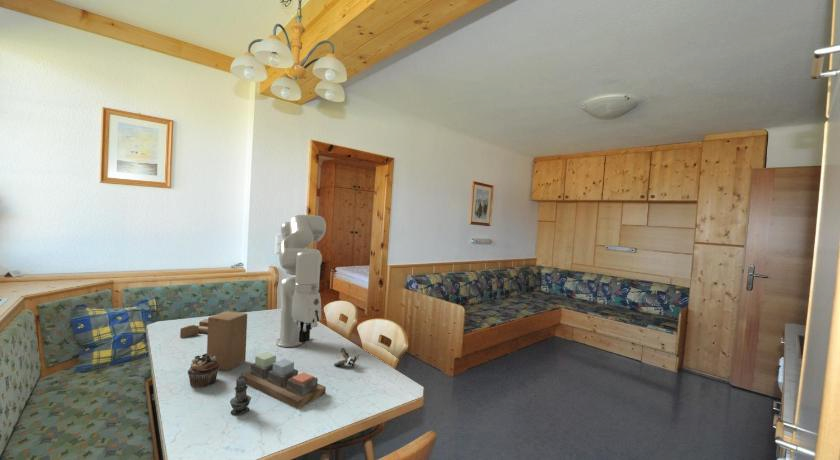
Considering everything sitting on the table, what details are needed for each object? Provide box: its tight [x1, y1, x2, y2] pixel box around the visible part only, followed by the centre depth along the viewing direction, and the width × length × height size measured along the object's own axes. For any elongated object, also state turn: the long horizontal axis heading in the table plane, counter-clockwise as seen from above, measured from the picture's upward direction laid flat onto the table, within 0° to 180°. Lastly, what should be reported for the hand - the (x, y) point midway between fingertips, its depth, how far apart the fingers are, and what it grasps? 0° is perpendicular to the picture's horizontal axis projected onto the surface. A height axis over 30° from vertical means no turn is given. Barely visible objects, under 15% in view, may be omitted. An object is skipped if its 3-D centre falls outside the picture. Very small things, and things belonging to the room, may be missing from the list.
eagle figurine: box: [333, 347, 360, 369], centre depth 145 cm, size 8×7×9 cm
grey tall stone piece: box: [229, 372, 252, 417], centre depth 108 cm, size 6×6×12 cm
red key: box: [292, 371, 315, 385], centre depth 118 cm, size 5×5×4 cm
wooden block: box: [206, 310, 248, 372], centre depth 139 cm, size 10×10×20 cm
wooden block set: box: [179, 318, 208, 338], centre depth 172 cm, size 17×6×18 cm
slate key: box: [273, 358, 295, 376], centre depth 123 cm, size 5×5×4 cm
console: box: [242, 362, 327, 410], centre depth 124 cm, size 12×30×6 cm, turn 59°
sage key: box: [254, 351, 277, 369], centre depth 129 cm, size 5×5×4 cm
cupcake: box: [187, 352, 220, 389], centre depth 124 cm, size 10×10×10 cm
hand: (304, 341), depth 118 cm, fingers closed
